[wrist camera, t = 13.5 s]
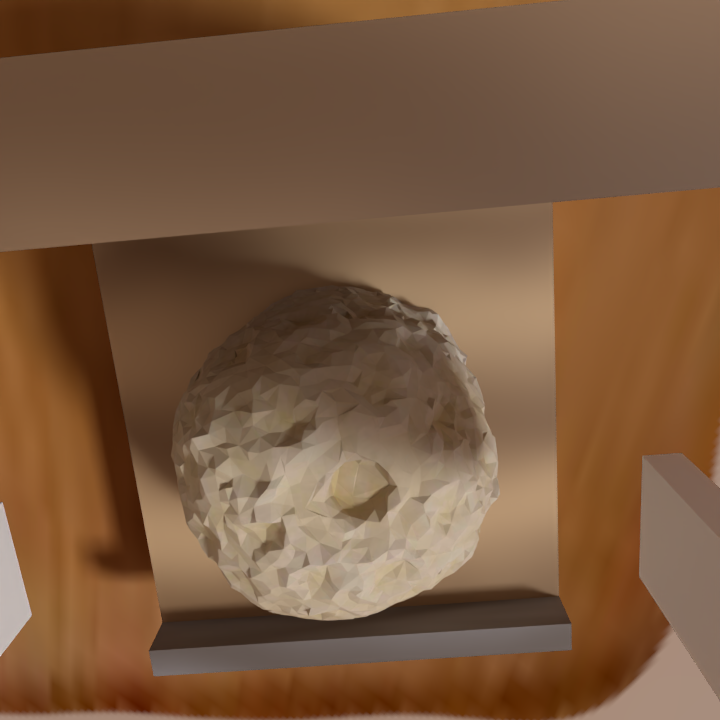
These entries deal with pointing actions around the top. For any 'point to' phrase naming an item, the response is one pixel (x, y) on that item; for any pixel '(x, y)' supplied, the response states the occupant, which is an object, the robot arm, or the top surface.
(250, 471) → the sponge
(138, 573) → the top surface
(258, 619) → the board
